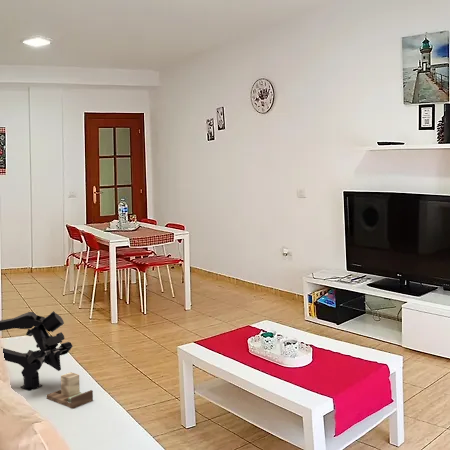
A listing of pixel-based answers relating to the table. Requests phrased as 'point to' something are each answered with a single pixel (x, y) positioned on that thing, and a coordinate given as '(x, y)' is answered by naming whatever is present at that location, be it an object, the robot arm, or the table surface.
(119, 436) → the table surface
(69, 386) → the birch block
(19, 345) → the table surface
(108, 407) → the table surface
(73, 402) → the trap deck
